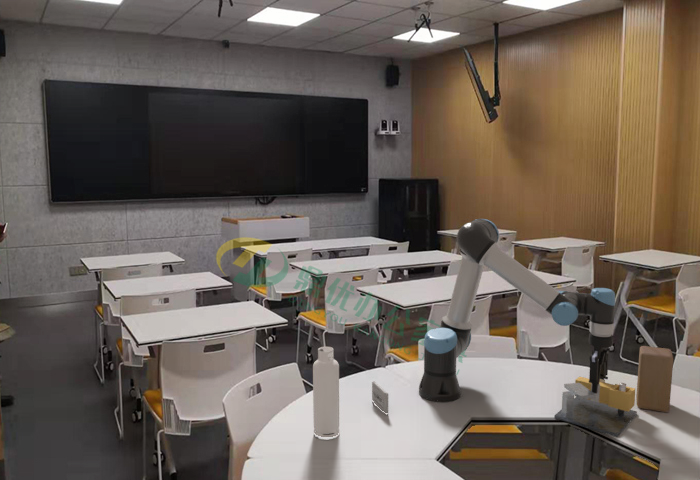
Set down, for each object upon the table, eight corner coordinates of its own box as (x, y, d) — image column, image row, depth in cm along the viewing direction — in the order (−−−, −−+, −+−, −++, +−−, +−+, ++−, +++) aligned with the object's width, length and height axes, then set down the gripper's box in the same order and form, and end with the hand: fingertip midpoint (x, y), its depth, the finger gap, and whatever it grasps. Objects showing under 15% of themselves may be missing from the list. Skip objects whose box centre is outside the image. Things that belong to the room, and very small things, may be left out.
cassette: (389, 415, 199) (389, 393, 198) (384, 416, 198) (384, 394, 197) (375, 401, 210) (375, 380, 209) (370, 402, 209) (370, 381, 208)
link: (634, 405, 198) (635, 388, 197) (628, 411, 193) (629, 394, 192) (580, 391, 210) (580, 375, 209) (573, 397, 205) (574, 380, 204)
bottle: (330, 442, 180) (329, 355, 175) (308, 436, 184) (307, 350, 180) (344, 432, 186) (343, 347, 182) (323, 426, 191) (322, 343, 187)
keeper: (577, 411, 201) (579, 382, 199) (594, 424, 191) (596, 394, 190) (556, 412, 200) (557, 384, 198) (571, 426, 190) (573, 396, 188)
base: (554, 418, 196) (556, 386, 194) (577, 398, 211) (579, 369, 210) (617, 436, 183) (619, 403, 181) (636, 414, 198) (639, 383, 197)
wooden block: (667, 402, 208) (671, 348, 205) (669, 413, 199) (673, 357, 196) (636, 397, 212) (639, 344, 209) (636, 408, 203) (640, 353, 200)
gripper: (598, 326, 208) (594, 388, 211) (580, 337, 195) (577, 403, 199) (620, 330, 203) (616, 394, 207) (604, 342, 190) (600, 410, 194)
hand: (597, 398), depth 203 cm, fingers closed on link, 4 cm apart
